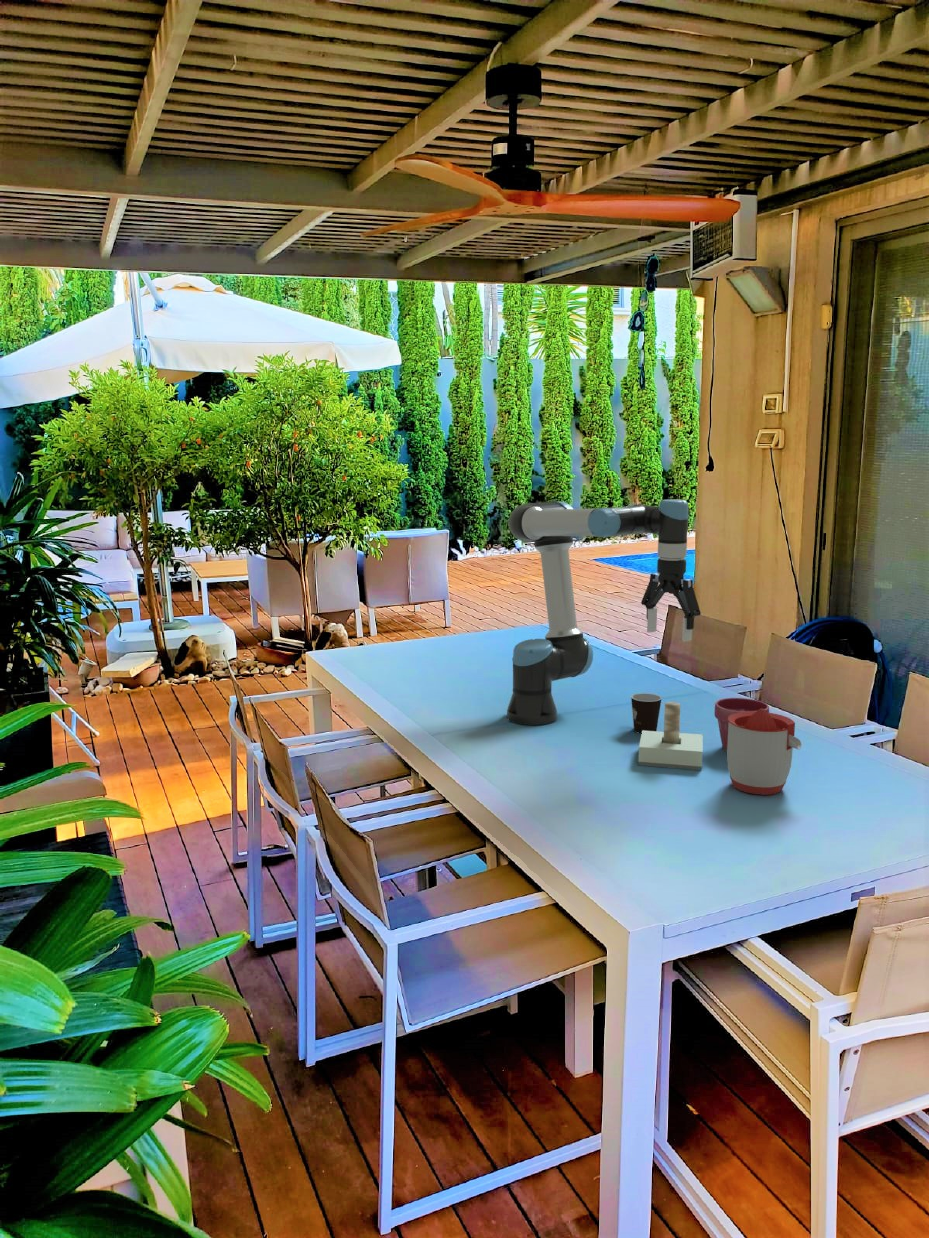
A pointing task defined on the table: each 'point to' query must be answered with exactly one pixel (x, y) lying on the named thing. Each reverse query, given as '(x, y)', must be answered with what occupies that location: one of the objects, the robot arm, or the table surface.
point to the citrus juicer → (760, 751)
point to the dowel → (671, 723)
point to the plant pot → (734, 706)
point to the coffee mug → (645, 711)
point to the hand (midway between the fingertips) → (668, 636)
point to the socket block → (671, 751)
